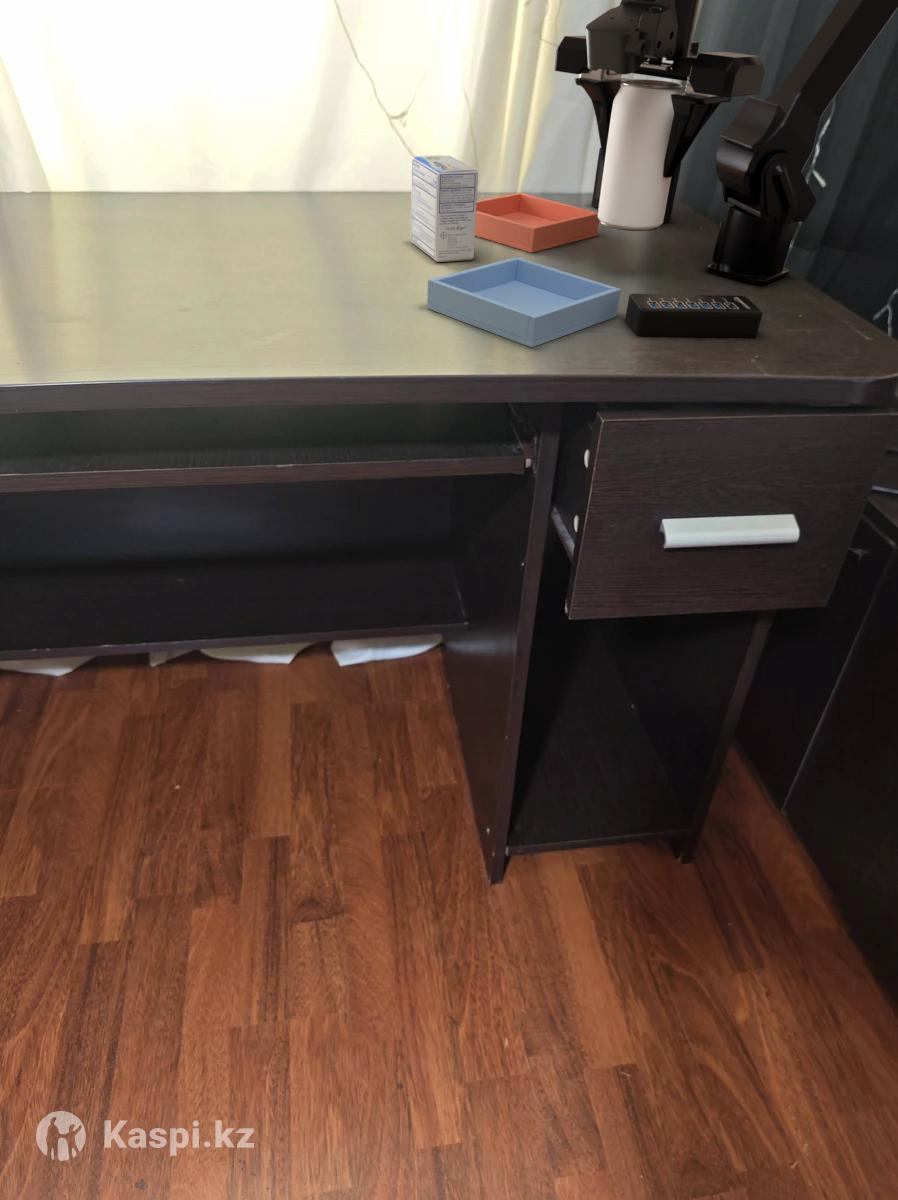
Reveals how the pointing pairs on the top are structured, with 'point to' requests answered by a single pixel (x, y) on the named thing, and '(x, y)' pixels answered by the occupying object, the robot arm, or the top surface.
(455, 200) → the medicine box
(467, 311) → the blue tray
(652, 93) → the can
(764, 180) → the robot arm
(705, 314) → the multiport hub
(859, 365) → the top surface
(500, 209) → the coral tray
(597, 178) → the digital camera
